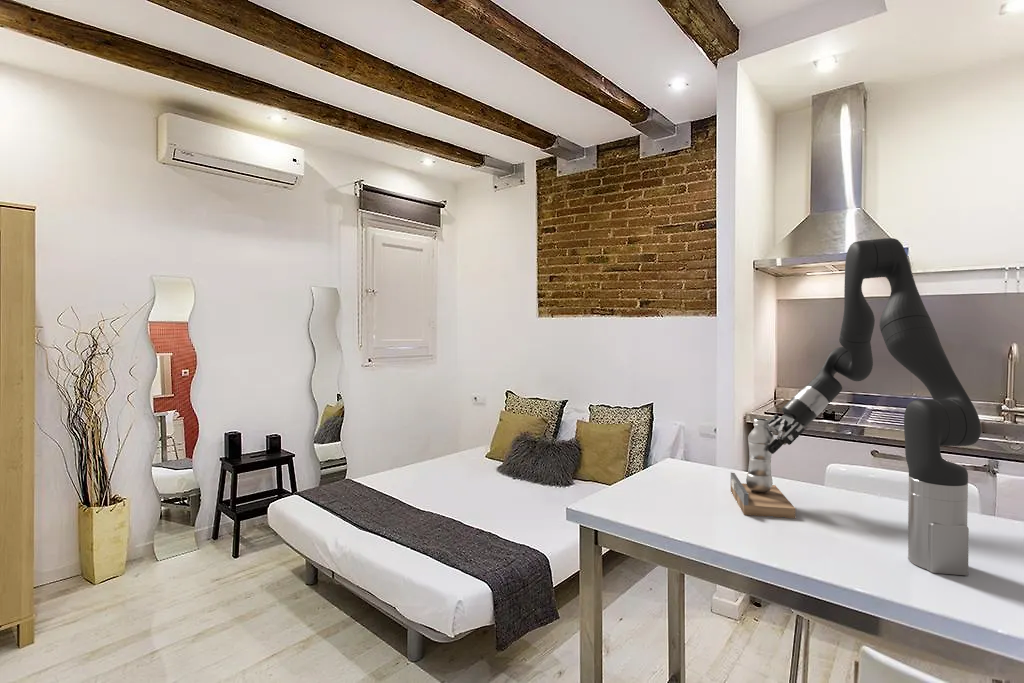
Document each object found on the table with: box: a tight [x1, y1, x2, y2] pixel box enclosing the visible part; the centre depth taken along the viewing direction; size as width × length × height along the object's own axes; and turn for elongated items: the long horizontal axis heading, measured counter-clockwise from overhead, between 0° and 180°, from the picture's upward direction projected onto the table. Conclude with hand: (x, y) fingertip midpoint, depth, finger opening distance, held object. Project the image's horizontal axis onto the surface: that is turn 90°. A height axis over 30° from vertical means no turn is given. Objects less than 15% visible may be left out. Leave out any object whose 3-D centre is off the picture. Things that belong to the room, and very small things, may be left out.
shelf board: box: [730, 482, 796, 519], centre depth 142 cm, size 20×12×2 cm, turn 166°
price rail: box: [730, 472, 748, 505], centre depth 144 cm, size 20×2×3 cm, turn 166°
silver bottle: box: [745, 417, 775, 492], centre depth 145 cm, size 6×7×20 cm
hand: (762, 447), depth 145 cm, fingers open, 8 cm apart
